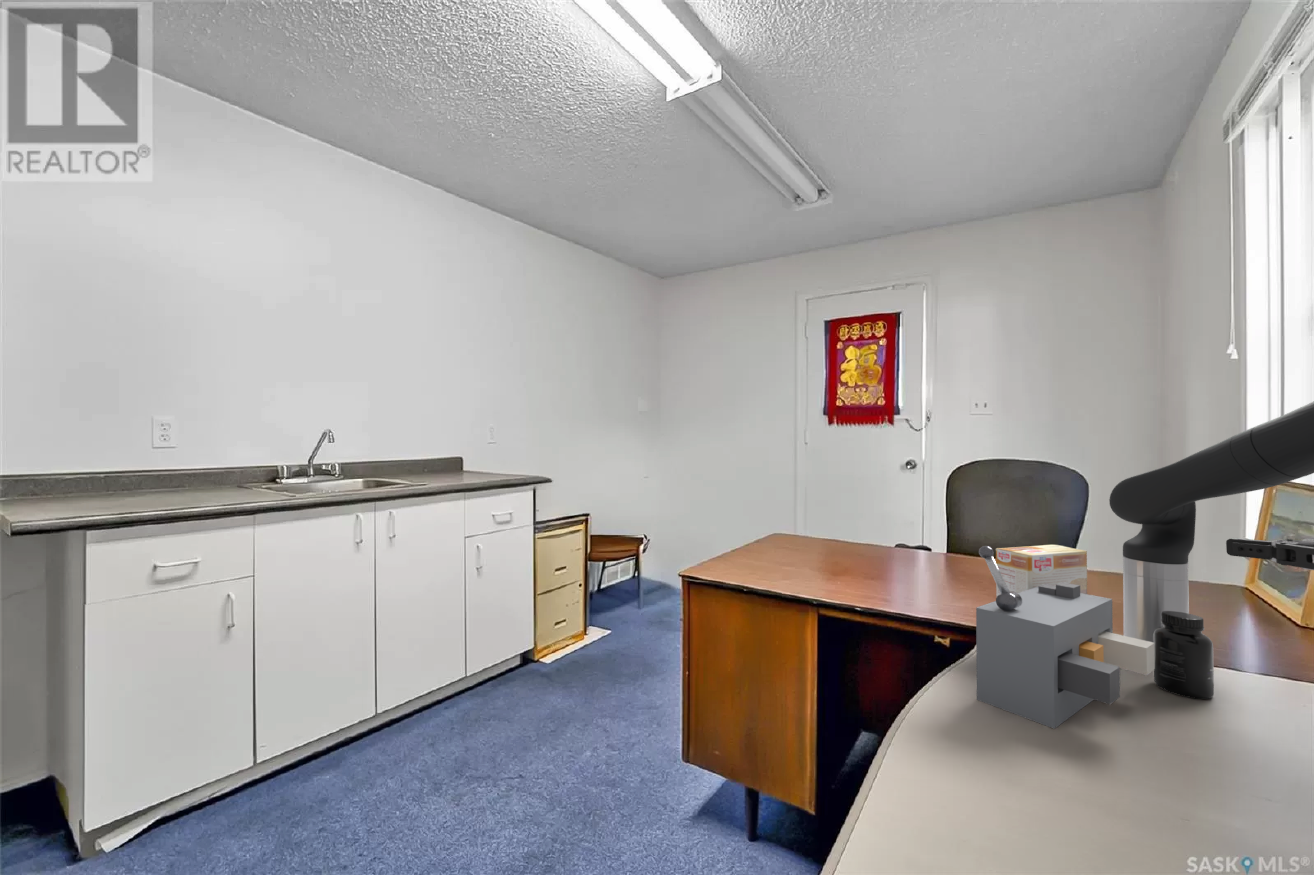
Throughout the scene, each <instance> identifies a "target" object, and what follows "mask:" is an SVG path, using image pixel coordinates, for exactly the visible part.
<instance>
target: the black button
mask: <svg viewBox="0 0 1314 875" xmlns="http://www.w3.org/2000/svg"><path fill="white" fill-rule="evenodd" d="M1120 670H1121V668H1120V667H1119V666H1115V665H1111V664H1108V663H1104V662H1100V661H1097V660H1093V659H1089V658H1086V657H1082V656H1078V655H1074V654H1071V653H1067V652H1064V653H1063V654H1061V655H1059V656H1058V688H1060V689H1063V690H1066V691H1069V692H1073V693H1076V694H1079V695H1082V696H1085V697H1088V698H1091V699H1094V700H1093V701H1097V702H1101V703H1104V704H1108V705H1111V704H1112V703H1114V702H1115V701H1117V700H1118V699H1119V698H1121V671H1120Z"/></svg>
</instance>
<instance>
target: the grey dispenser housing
mask: <svg viewBox="0 0 1314 875" xmlns="http://www.w3.org/2000/svg"><path fill="white" fill-rule="evenodd" d="M1018 594H1019V595H1020V596H1021V598H1022V604H1021V606H1019V607H1017V608H1014V609H1012V610H1009V611H1005V610H1002V609H1000V608H999V607H998V606H997V604H996V600H995V601H992V602H989V603H986V604H982V605H980V606H977V607H976V609H975V610H976V612H975V614H976V618H975V620H976V621H975V622H976V623H975V625H976V627H975V628H976V629H975V631H976V634H975V636H976V637H975V638H976V640H975V641H976V645H975V646H976V653H975V654H976V655H975V656H976V700H977V701H980V702H983V703H985V704H988V705H990V706H993V707H995V708H999V709H1000V710H1003V711H1006V712H1009V713H1012V714H1015V715H1018V716H1019V717H1022V718H1024V719H1028V720H1030V721H1034V722H1036V723H1038V724H1041V725H1043V726H1046V727H1048V728H1051V729H1056V728H1057V727H1059V726H1060V725H1061V724H1063V723H1064V722H1066V721H1067V720H1069V719H1070V718H1071V717H1072V716H1074V715H1075V714H1076V713H1077V712H1079V711H1081V710H1082V709H1083V708H1084V707H1086V706H1087V705H1089V704H1090V703H1091V702H1093V701H1095V700H1094V699H1091V698H1088V697H1085V696H1082V695H1079V694H1076V693H1073V692H1069V691H1066V690H1063V689H1060V688H1058V656H1059V655H1061V654H1063V653H1064V652H1067V653H1071V654H1074V655H1078V656H1079V644H1081V643H1083V642H1084V641H1088V642H1092V643H1096V644H1098V634H1099V633H1101V632H1103V631H1106V632H1110V633H1114V631H1113V598H1109V597H1105V596H1104V597H1103V596H1098V595H1094V594H1088V593H1087V594H1083V593H1080V585H1075V584H1070V583H1064V582H1062V583H1059V584H1057V585H1056V586H1055V585H1049V584H1044V585H1041V586H1038V587H1035V588H1032V589H1029V590H1026V591H1023V592H1020V593H1018Z"/></svg>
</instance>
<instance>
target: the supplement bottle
mask: <svg viewBox="0 0 1314 875" xmlns="http://www.w3.org/2000/svg"><path fill="white" fill-rule="evenodd" d="M1161 617H1162V619H1161V623H1162V624H1163V627H1159V628H1157V629H1156V630H1155V631H1154V634H1153V643H1154V648H1155V669H1154V670H1153V681H1154V683H1155V684H1156V686H1157V687H1159V688H1160V689H1161V690H1164V691H1166V692H1168V693H1172V694H1175V695H1178V696H1181V697H1187V698H1191V699H1198V700H1199V699H1200V700H1208V699H1211V698H1212V697H1214V693H1215V681H1214V680H1215V675H1214V674H1215V672H1214V671H1215V670H1214V668H1215V666H1214V644H1213V641H1212V640H1211V638H1210V637H1208V636H1207V635H1206V634H1204V633H1203V632H1204V631H1205V626H1204V618H1203V617H1202V616H1199V615H1196V614H1192V613H1189V614H1188V613H1183V612H1176V611H1163V612H1162V613H1161Z"/></svg>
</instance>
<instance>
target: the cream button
mask: <svg viewBox="0 0 1314 875" xmlns="http://www.w3.org/2000/svg"><path fill="white" fill-rule="evenodd" d="M1098 644H1100V645H1103V647H1104V663H1108V664H1111V665H1115V666H1119V667H1120V670H1121V669H1122V670H1125V671H1129V672H1133V673H1137V674H1140V675H1145V676H1148V675H1149V674H1150V673H1152V672H1154V669H1155V648H1154V643H1153V642H1149V641H1145V640H1140V639H1136V638H1132V637H1127V636H1124V634H1120V633H1119V634H1118V633H1114V632H1113V633H1110V632H1106V631H1103V632H1101V633H1099V634H1098Z"/></svg>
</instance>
